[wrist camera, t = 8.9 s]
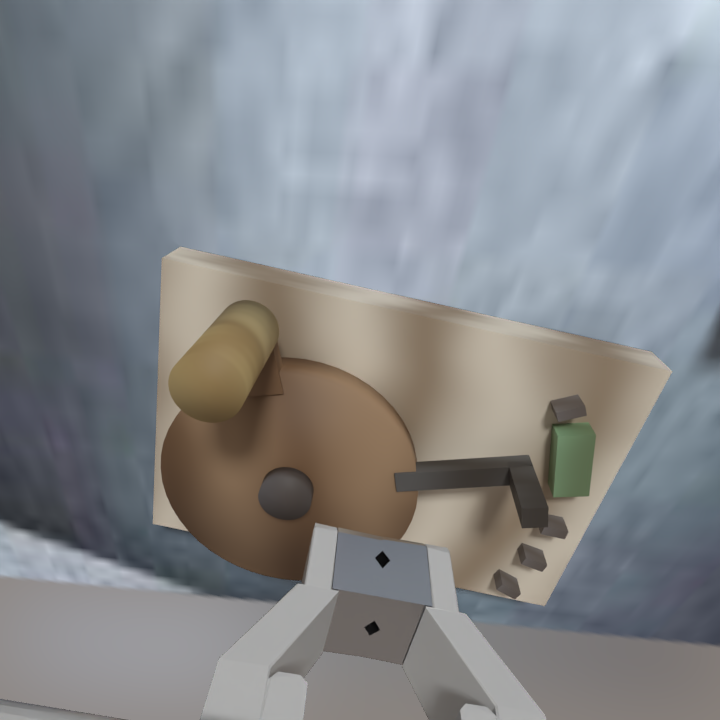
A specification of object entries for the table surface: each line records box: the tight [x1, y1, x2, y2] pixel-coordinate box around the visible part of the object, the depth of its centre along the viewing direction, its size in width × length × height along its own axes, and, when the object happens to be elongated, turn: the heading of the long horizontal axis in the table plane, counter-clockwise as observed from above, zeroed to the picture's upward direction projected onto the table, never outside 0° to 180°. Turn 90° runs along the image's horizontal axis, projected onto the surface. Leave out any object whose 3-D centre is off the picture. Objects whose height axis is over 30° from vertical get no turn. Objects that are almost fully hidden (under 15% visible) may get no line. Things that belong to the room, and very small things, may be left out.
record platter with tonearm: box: [161, 300, 549, 580], centre depth 21 cm, size 17×15×6 cm
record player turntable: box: [153, 247, 672, 606], centre depth 25 cm, size 22×15×3 cm
